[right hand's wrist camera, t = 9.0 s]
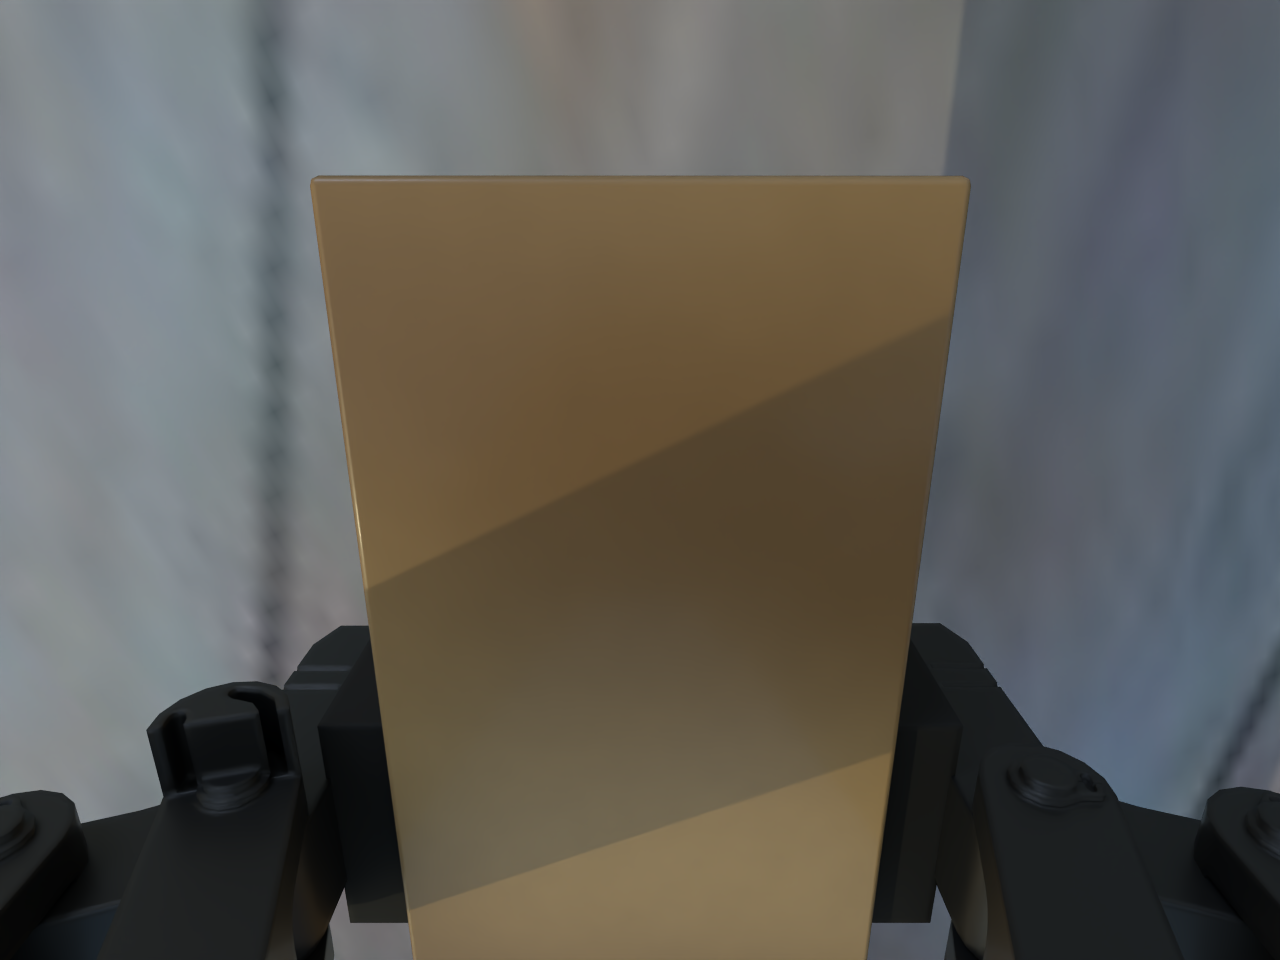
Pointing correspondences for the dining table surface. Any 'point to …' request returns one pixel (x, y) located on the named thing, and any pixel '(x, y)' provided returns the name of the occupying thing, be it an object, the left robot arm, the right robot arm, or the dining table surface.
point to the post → (640, 543)
